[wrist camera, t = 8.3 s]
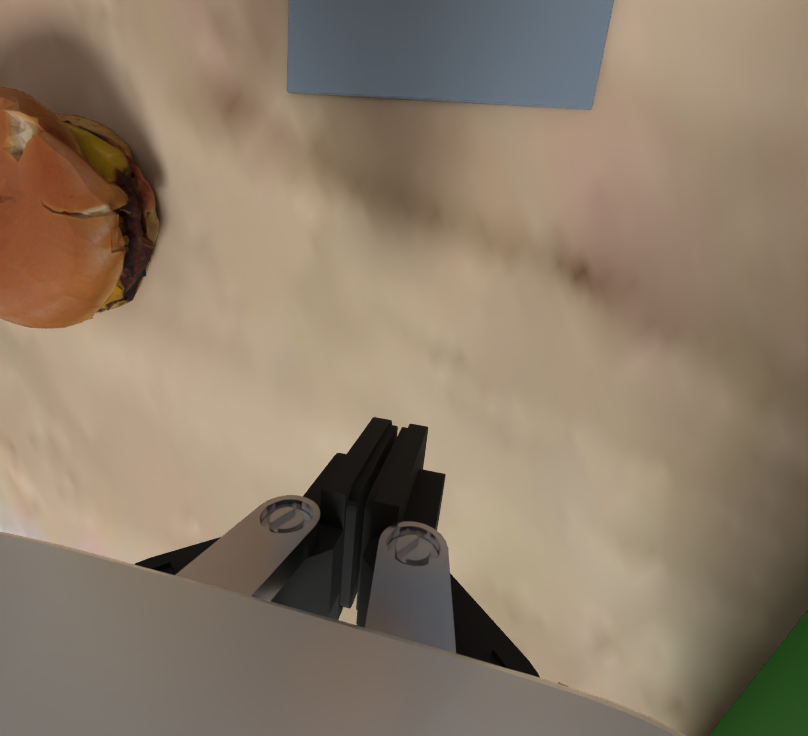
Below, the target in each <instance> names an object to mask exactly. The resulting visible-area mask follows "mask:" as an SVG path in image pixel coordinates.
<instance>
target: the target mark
mask: <svg viewBox="0 0 808 736" xmlns="http://www.w3.org/2000/svg"><path fill="white" fill-rule="evenodd" d="M613 3H614V0H289V23H288V63H287V91H288V92H289V93H302V94H320V95H338V96H356V97H373V98H391V99H409V100H427V101H444V102H462V103H480V104H498V105H515V106H533V107H551V108H569V109H586V110H591V108H592V106H593V101H594V96H595V91H596V86H597V81H598V76H599V71H600V67H601V62H602V57H603V52H604V47H605V42H606V37H607V32H608V27H609V23H610V18H611V13H612V8H613Z"/></svg>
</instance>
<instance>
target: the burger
mask: <svg viewBox="0 0 808 736" xmlns="http://www.w3.org/2000/svg"><path fill="white" fill-rule="evenodd" d="M155 207H156V203H155V197H154V193H153V191H152V189H151V186H150V184H149V182H148V181H147V180H145V179H143V175H142V174H141V170H140V169H139V167H138V165H137V164H136V163H135V161H134V160H133V158H132V151H131V150H130V149H129V146H128V145H127V144H126V143H125V142H124V141H123V140H122V139H121V138H120V137H119V136H118V135H117V134H116V133H114V132H113V131H112V130H111V129H109V128H107V127H105V126H103V125H102V124H100V123H97V122H94V121H91V120H88V119H85V118H83V117H80V116H76V115H71V116H69V115H55V114H54V113H52V112H51V111H50V110H48V109H47V108H46V107H45V106H43V105H42V104H41V103H39V102H38V101H37V100H36V99H34V98H33V97H31V96H29V95H27V94H26V93H24V92H21V91H18V90H15V89H10V88H3V87H0V318H1V319H3V320H6V321H9V322H11V323H14V324H18V325H21V326H25V327H30V328H65V327H68V326H72V325H75V324H78V323H81V322H83V321H85V320H88V319H92V318H93V317H92V316H93V315H94V314H95V313H101V312H103V311H105V310H109V309H113V308H116V307H119V306H122V305H124V304H126V303H128V302H130V301H132V300H133V298H134V296H135V294H136V293H137V291H138V289H139V287H140V285H141V282H142V279H143V277H144V276H146V270H147V267H148V264H149V263H150V262H151V259H152V255H153V252H154V243H155V241H156V239H157V235H158V232H159V224H160V223H159V220H158V218H157V215H156V210H155Z"/></svg>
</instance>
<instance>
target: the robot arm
mask: <svg viewBox="0 0 808 736" xmlns="http://www.w3.org/2000/svg"><path fill="white" fill-rule="evenodd" d="M397 430H398V427H397V426H394V425H392V421H391V420H387V419H381V418H376V417H373V418H372V420H371V421H370V423H369V424H368V425H367V427H366V428H365V430H364V431H363V432H362V434H361V435H360V436H359V438H358V439H357V441H356V442H355V443H354V445H353V446H352V448H351V449H350V450H349V452H348V453H347V454H342V453H337V454H336V455H335V456H334V457H333V458H332V460H331V461H330V462H329V464H328V465H327V466H326V467H325V469H324V470H323V471H322V473H321V474H320V475H319V476H318V478H317V479H316V480H315V482H314V483H313V484H312V485H311V487H310V488H309V489H308V491H307V492H306V493H305V494H304V496H303V497H302V496H297V495H286V496H280V497H276V498H273V499H270V500H268V501H266V502H265V503H263V504H261V505H260V506H259V507H257V508H256V509H255V510H254V511H253V512H251V513H250V514H249V515H248V516H247V517H245V518H244V519H243V520H242V521H240V522H239V523H238V524H237V525H236V526H234V527H233V528H232V529H231V530H229V531H228V532H227V533H226V534H225V535H223V536H222V537H220V538H216V539H213V540H209V541H206V542H202V543H199V544H196V545H192V546H189V547H185V548H182V549H179V550H175V551H172V552H168V553H165V554H162V555H158V556H155V557H151V558H148V559H146V560H143V561H141V562H138V563H136V564H130V563H126V562H123V561H119V560H115V559H111V558H108V557H104V556H100V555H96V554H93V553H89V552H85V551H81V550H77V549H74V548H70V547H66V546H62V545H58V544H54V543H49V542H45V541H40V540H36V539H31V538H27V537H22V536H18V535H14V534H9V533H4V532H0V736H686V735H684V734H682V733H680V732H678V731H676V730H674V729H673V728H671V727H669V726H667V725H665V724H663V723H661V722H659V721H657V720H655V719H653V718H651V717H649V716H646V715H644V714H641V713H639V712H636V711H634V710H631V709H629V708H627V707H624V706H622V705H619V704H617V703H614V702H612V701H610V700H607V699H604V698H601V697H597V696H594V695H591V694H588V693H585V692H582V691H579V690H576V689H573V688H570V687H568V686H566V685H564V684H562V683H560V682H558V684H557V683H554V682H551V681H548V680H545V679H542V678H540V677H539V675H538V673H537V671H536V670H535V669H534V667H533V666H532V664H531V663H530V662H529V660H528V659H527V658H526V657H525V656H524V655H523V654H522V653H521V651H520V650H519V649H518V648H517V647H516V646H515V645H514V644H513V643H512V641H511V640H510V639H509V638H508V637H507V636H506V635H505V634H504V633H503V631H502V630H501V629H500V628H499V627H498V626H497V625H496V624H495V623H494V621H493V620H492V619H491V618H490V617H489V616H488V615H487V614H486V613H485V611H484V610H483V609H482V608H481V607H480V606H479V605H478V604H477V603H476V601H475V600H474V599H473V598H472V597H471V596H470V595H469V594H468V593H467V591H466V590H465V589H464V588H463V587H462V586H461V585H460V584H459V583H458V581H457V580H456V579H455V578H454V577H453V576H452V575H451V574H450V568H449V555H448V547H447V544H446V541H445V539H444V538H443V536H442V535H441V534H440V533H439V532H438V531H437V526H438V520H439V514H440V508H441V502H442V495H443V489H444V482H445V474H442V473H437V472H432V471H427V470H423V464H424V457H425V449H426V442H427V434H428V427H426V426H420V425H415V424H410V425H409V427H408V428H405V427H402V428H401V430H400V432H399V434H398V436H397ZM357 591H358V593H357ZM356 594H357V605H356V610H358V612H357V625H358V626H357V625H353V624H350V623H346V622H343V621H339V620H338V619H339V616H340V614H341V612H342V609H343V607H347V608H351V606H352V604H353V602H354V599H355V596H356Z"/></svg>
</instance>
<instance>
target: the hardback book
mask: <svg viewBox="0 0 808 736" xmlns="http://www.w3.org/2000/svg"><path fill="white" fill-rule="evenodd" d="M709 736H808V611H807V612H806V613H805V614H804V616H803V617H802V618H801V620H800V621H799V622H798V623H797V625H796V626H795V627H794V628H793V630H792V631H791V632H790V634H789V635H788V636H787V637H786V639H785V640H784V641H783V642H782V644H781V645H780V646H779V648H778V649H777V650H776V651H775V653H774V654H773V655H772V656H771V658H770V659H769V660H768V662H767V663H766V664H765V665H764V667H763V668H762V669H761V670H760V672H759V673H758V674H757V675H756V677H755V678H754V679H753V681H752V682H751V683H750V684H749V686H748V687H747V688H746V689H745V691H744V692H743V693H742V695H741V696H740V697H739V698H738V700H737V701H736V702H735V703H734V705H733V706H732V707H731V709H730V710H729V711H728V712H727V714H726V715H725V716H724V717H723V719H722V720H721V721H720V722H719V724H718V725H717V726H716V728H715V729H714V730H713V731H712V733H711V734H710V735H709Z"/></svg>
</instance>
